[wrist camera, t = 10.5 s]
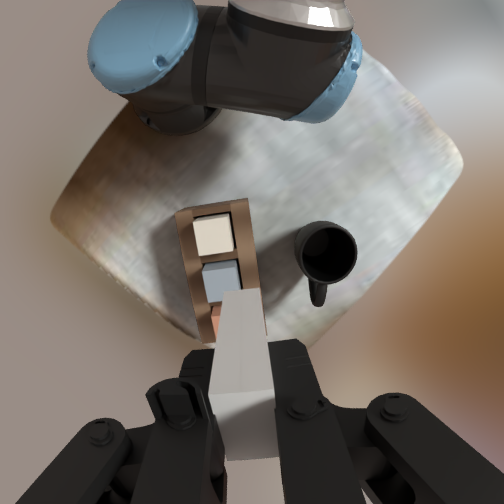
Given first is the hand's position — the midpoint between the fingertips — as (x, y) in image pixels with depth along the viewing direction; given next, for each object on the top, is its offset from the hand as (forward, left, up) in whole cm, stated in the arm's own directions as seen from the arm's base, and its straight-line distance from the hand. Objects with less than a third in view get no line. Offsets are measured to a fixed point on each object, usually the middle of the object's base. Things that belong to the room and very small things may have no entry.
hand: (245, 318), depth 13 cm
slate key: (+7, -4, -32) cm, 33 cm away
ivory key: (+1, -4, -32) cm, 32 cm away
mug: (+7, +10, -35) cm, 37 cm away
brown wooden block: (+7, -4, -35) cm, 36 cm away
